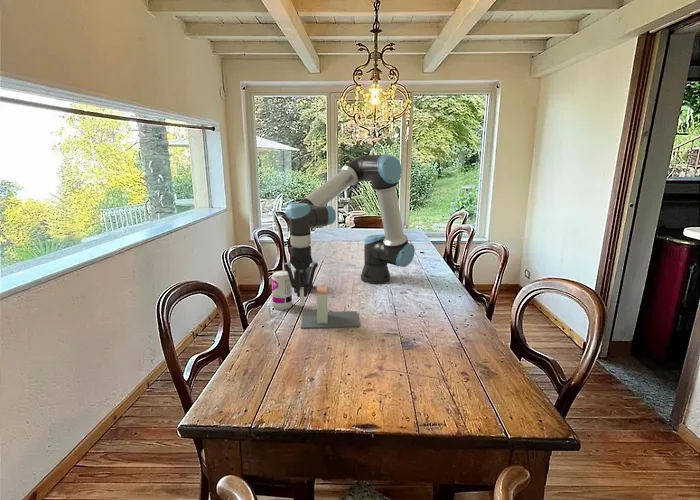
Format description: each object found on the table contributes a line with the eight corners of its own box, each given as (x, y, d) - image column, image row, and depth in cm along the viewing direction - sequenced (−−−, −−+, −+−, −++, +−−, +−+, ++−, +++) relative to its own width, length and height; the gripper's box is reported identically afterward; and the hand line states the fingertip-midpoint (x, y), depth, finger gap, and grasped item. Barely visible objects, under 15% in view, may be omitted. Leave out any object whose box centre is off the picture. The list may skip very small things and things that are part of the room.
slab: (327, 314, 162) (327, 286, 159) (327, 323, 154) (327, 293, 151) (317, 314, 162) (317, 286, 159) (317, 323, 154) (316, 293, 151)
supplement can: (276, 311, 166) (274, 277, 162) (270, 305, 173) (268, 271, 170) (294, 308, 170) (293, 274, 166) (288, 301, 177) (287, 269, 173)
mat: (356, 312, 166) (356, 311, 165) (359, 327, 152) (359, 325, 152) (302, 313, 164) (302, 312, 164) (300, 328, 151) (300, 327, 151)
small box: (307, 293, 187) (306, 272, 184) (293, 292, 188) (293, 271, 185) (313, 286, 197) (313, 265, 194) (300, 285, 198) (300, 264, 195)
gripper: (318, 242, 154) (319, 300, 160) (284, 243, 153) (286, 301, 159) (318, 247, 147) (319, 307, 153) (282, 248, 146) (284, 308, 152)
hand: (302, 304), depth 156 cm, fingers closed
